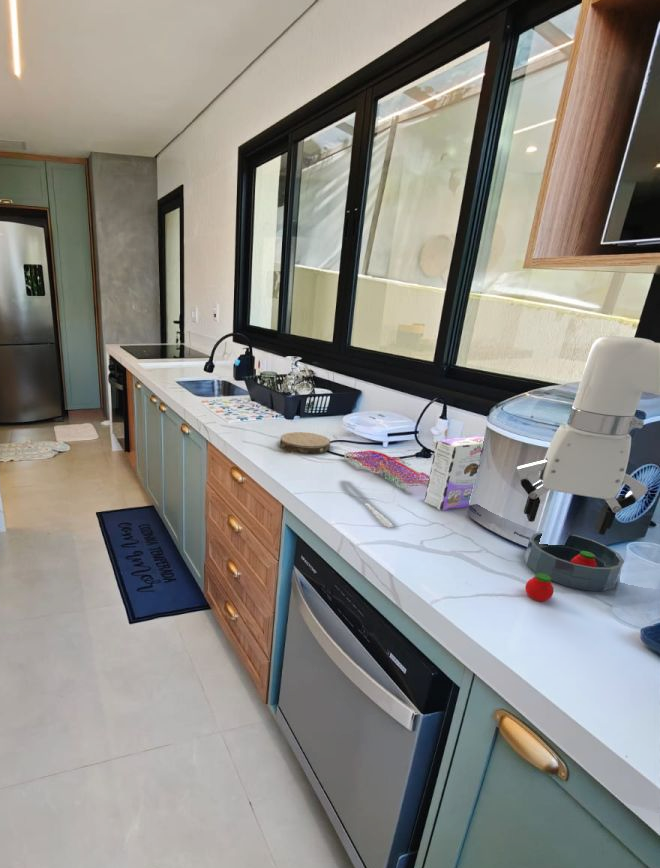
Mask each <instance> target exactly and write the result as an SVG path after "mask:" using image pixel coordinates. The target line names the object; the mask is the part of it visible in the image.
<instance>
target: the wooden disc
mask: <svg viewBox="0 0 660 868" xmlns="http://www.w3.org/2000/svg"><path fill="white" fill-rule="evenodd" d="M279 443H280V444H279V448H280V449H281V450H283V451H285V452H287V453H290V454H292V453H297V454H305V455H318V454H324V453H326V452H328V451H329V450H330V446H331V445H330V444H331V440H330V438H328V437H327V436H324V435H323V434H318V433H313V432H303V431H302V432H301V431H300V432H299V431H297V432H295V431H293V432H287V433H283V434H282V435H281V436H280V439H279Z"/></svg>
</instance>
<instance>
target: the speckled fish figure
mask: <svg viewBox="0 0 660 868" xmlns="http://www.w3.org/2000/svg"><path fill="white" fill-rule="evenodd" d="M347 458H348V461H349V465H352V463H354V462H355V463H357V464H356V465H355V466H356V467H355V469H357V471H358V470H362V467H363V468H364V469H366V470H367V471H368V472H370V473H372V474H376V475H380V477H382V478H383V477H384V479H385V480H386V481H388V482H390V483H394V484H395V486H396V487H398V489H400V488H401V490H402V491H404V492H405V493H408V492H409V491H410V487H418V486H428V481H429V476H430V474H427V473H425V472H418V471H416V470H415V469H414V468H412V467H410V466H412V464H411V463H409V462H407V461H405V460H404V459H402V458H400V457H398V456H390V455H388V454H386V453H384V452H378V451H376V450H364V451H354V452H353V451H349V452H344V457H343V460H344V461H345V462H346V461H347ZM399 483H400V484H401V485H399Z"/></svg>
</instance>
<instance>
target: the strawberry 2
mask: <svg viewBox="0 0 660 868" xmlns="http://www.w3.org/2000/svg"><path fill="white" fill-rule="evenodd" d="M594 557H595V555H594V554H593V553H591V552H588V551H580V554H578V555H577V556H575V557H574V558H573V559H572V560H571V563H574V564H579V565H584V566H589V567H597V564H596V562H595V559H594Z"/></svg>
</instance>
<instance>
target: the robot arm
mask: <svg viewBox="0 0 660 868" xmlns="http://www.w3.org/2000/svg"><path fill="white" fill-rule="evenodd" d="M581 375H582V376H581V379H580V382H579V385H578V388H577V391H576V395H575V397H574V401H573V403H572V407H571V410H570V413H569V415H568V418H567V423H566V424H560V425H559V427H558V428H557V430H556V432H555V433H554V435H553V437H552V439H551V442H550V443H549V446H548V449H547V451H546V453H545V456H544V458H543V460H538V461H535V462H530V463H526V464H523V465H519V466H517V467H516V474H517V476H518V480H519V483H520V485H521V487H522V488H523V490H524V491H525V492H526V493H527V499H526V502H525V505H524V508H523V514H525V515H526V518H527V520H528V521H527V522H529V523H533V522H535V520H536V516H537V513H538V510H539V507H540V504H541V499H540V497H541V496H542V495H544V494H546V493H548V492H549V491H553V492H556V493H557V492H558V493H564V494H569V495H570V494H571V495H574V496H575V495H576V496H581V497H582V496H583V497H589V498H595V499H602V500H604V502H605V503H604V504H602V505H601V507H600V509H599V512H598V513H597V514H598V515H597V517H596V520H595V522H594V525H593V527H594V529H595V531H596V532H597V534H598V535H601V536H605V534H606V532H607V529H608V530H610V529H611V528H612V526H613V523H614V520H615V517H616V516H617V513H621V512H622V510H624V509H626V508H628V507H630V506H632V505H634V504H635V503H636V502H637V501H638V500H639V499H640V498H642V497H644V496H645V494H647V493H648V492H649V488H648V487H647V486H646V485H645V484H644V483H642V482H640V481H639V480H637V479H636V478H635V477H633V476H631V475H630V474H628V473H626V472H627V468H628V464H629V460H630V455H631V454H630V453H631V447H632V436H631V435H630V433H631V431H632V430H635V429H639V430H640V429H642V428H643V427H644V423H645V420H644V419H640V418H638V417H636V415H635V414H636V412H637V408H638V406H639V403H640V400H641V398H642V396H643V393H647V394H648V393H649V394H652V395H656V396H660V342H655V341H653V340H651V339H648V338H643V337H635V336H634V337H633V336H620V335H619V336H618V335H607V336H602V337H599V338H597V339H595V341H594V342H593V343H592V344H591V348H590V350H589V353H588V356H587V359H586V363H585V365H584V369H583V372H582V374H581ZM537 472H539V473H538V479H539V480H538V481H537V482H535V483H532V482H531V481H530V480H529V475H530V474H533V473H537ZM623 484H624V485H626V486H628V487H629V488H630V490H629V491H628V492H627V493H624V494H623V495H621V496H618V494H619V493H620V491H621V489H622V485H623ZM617 496H618V497H617Z"/></svg>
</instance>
